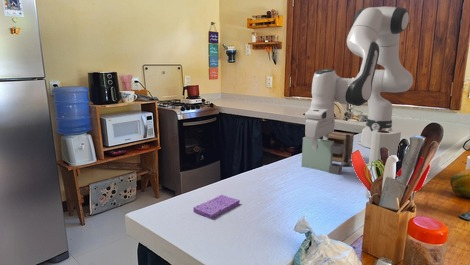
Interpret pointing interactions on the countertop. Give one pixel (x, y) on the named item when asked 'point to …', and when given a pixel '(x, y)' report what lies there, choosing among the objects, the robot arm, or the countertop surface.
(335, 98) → the robot arm
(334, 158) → the walnut cabinet
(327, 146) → the cabinet door
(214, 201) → the sponges
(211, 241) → the countertop surface
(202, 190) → the countertop surface
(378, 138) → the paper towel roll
